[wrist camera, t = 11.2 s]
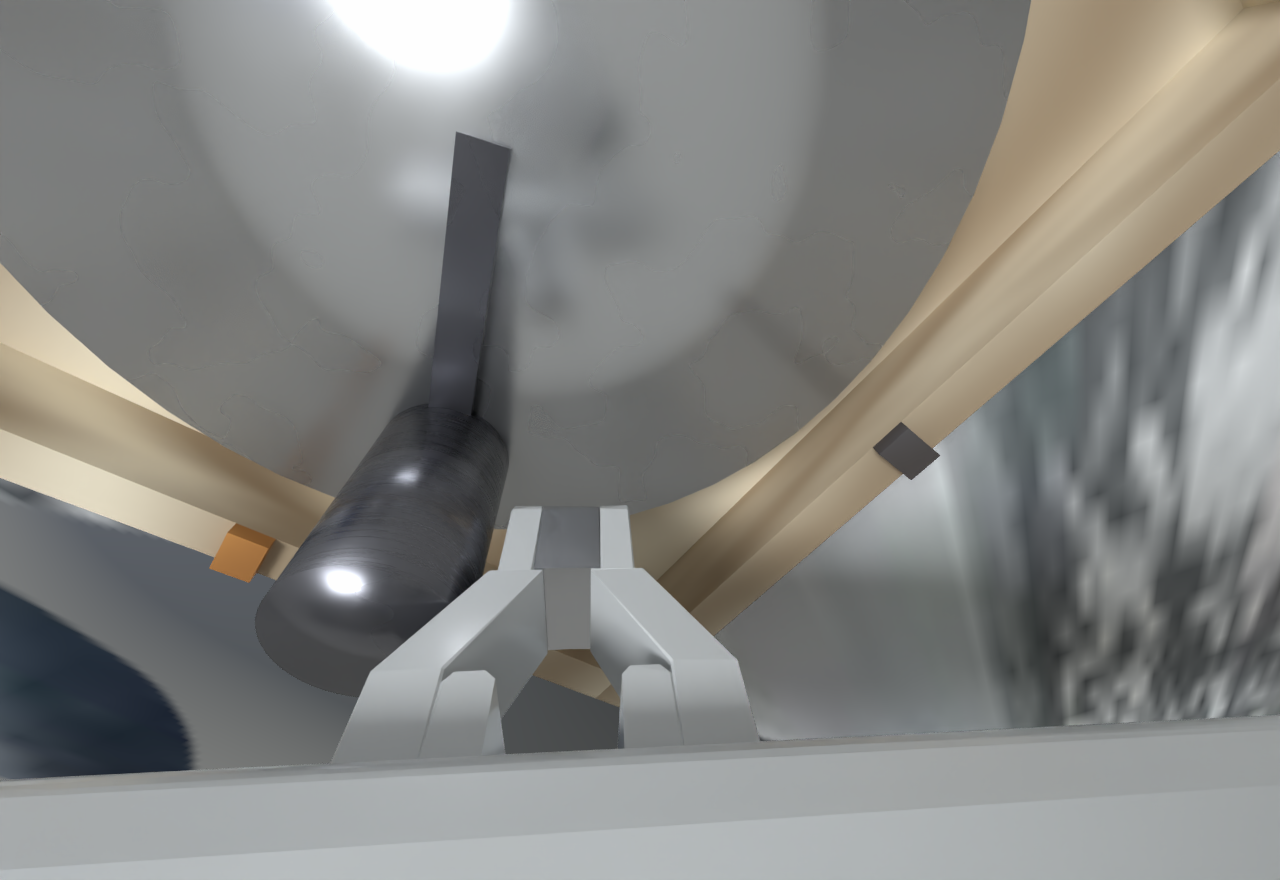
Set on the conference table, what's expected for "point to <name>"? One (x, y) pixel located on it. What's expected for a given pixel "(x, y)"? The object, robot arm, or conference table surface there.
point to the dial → (485, 246)
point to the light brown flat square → (864, 411)
